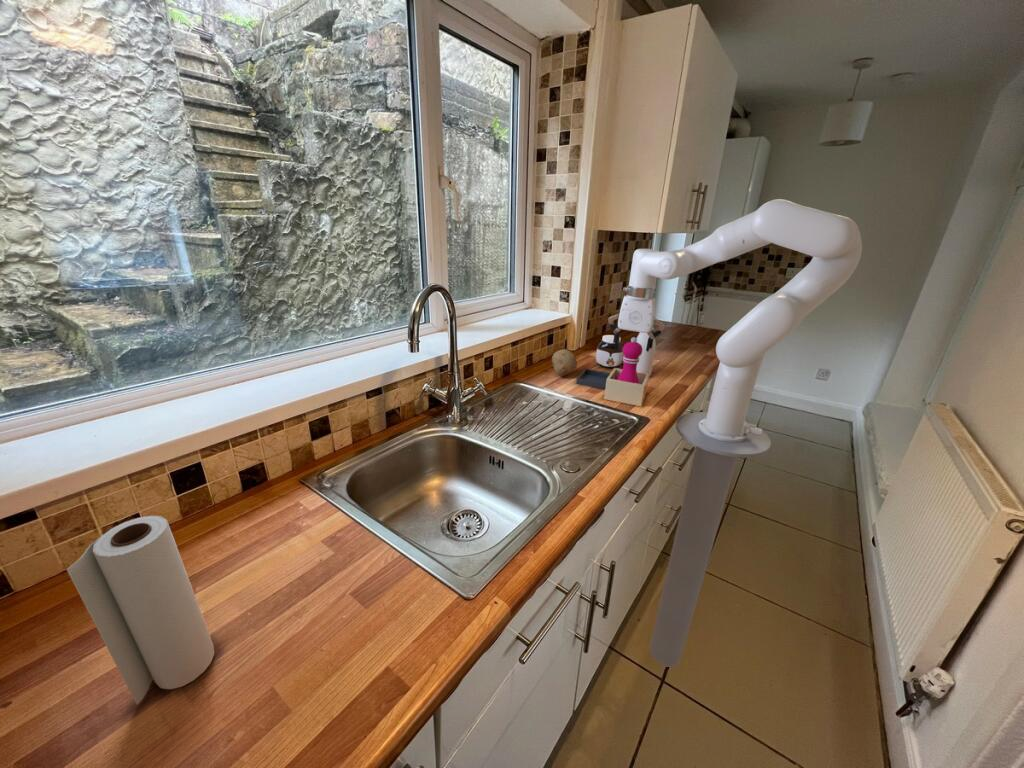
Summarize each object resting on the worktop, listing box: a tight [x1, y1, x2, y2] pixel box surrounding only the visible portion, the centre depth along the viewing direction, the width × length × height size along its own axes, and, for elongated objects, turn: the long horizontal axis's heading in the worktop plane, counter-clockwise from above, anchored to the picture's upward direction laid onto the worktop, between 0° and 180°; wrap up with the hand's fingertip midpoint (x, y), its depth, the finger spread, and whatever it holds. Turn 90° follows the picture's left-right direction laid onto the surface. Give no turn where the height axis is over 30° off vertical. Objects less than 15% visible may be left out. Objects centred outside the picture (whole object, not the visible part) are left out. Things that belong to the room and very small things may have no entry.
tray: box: [576, 368, 611, 390], centre depth 144 cm, size 11×11×2 cm
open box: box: [603, 367, 651, 407], centre depth 132 cm, size 12×12×7 cm
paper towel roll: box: [65, 515, 215, 705], centre depth 47 cm, size 7×6×21 cm
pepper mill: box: [617, 336, 642, 384], centre depth 130 cm, size 7×7×20 cm
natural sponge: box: [551, 348, 578, 377], centre depth 147 cm, size 9×9×10 cm
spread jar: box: [595, 334, 624, 370], centre depth 159 cm, size 12×11×12 cm
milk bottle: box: [635, 324, 657, 377], centre depth 149 cm, size 8×8×20 cm
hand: (631, 347), depth 127 cm, fingers open, 9 cm apart
